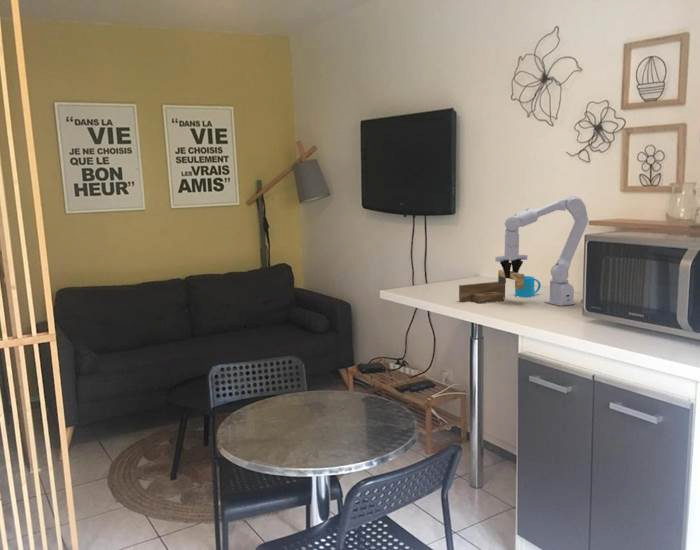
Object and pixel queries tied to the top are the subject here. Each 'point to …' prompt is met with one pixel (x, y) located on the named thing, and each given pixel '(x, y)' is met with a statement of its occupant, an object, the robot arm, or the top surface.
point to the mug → (528, 287)
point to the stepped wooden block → (482, 292)
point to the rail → (514, 276)
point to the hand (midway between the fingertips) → (511, 277)
